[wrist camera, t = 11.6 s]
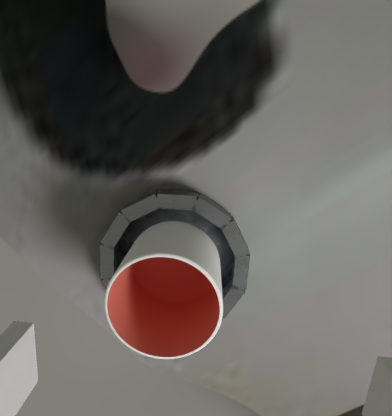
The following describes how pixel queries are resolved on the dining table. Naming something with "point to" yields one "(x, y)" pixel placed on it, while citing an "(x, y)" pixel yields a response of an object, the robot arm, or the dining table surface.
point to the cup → (167, 292)
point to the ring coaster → (189, 213)
